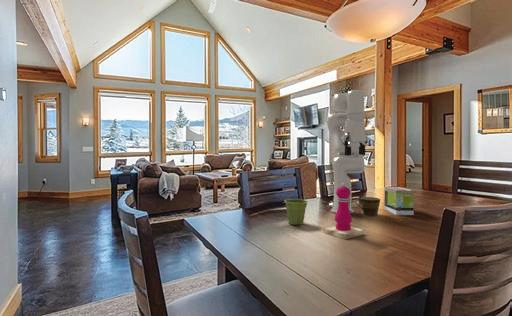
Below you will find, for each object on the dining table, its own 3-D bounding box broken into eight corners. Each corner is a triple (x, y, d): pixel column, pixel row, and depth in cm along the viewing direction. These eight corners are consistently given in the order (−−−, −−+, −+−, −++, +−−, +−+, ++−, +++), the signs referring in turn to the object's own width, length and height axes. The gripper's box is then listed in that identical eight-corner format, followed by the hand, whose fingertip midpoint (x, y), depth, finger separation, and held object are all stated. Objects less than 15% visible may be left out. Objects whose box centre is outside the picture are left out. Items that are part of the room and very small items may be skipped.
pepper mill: (340, 231, 119) (340, 184, 118) (331, 227, 126) (331, 182, 125) (355, 230, 121) (355, 183, 120) (345, 226, 128) (345, 181, 127)
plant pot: (307, 227, 134) (307, 203, 134) (283, 225, 137) (282, 202, 136) (308, 221, 146) (308, 199, 146) (285, 220, 148) (285, 198, 148)
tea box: (414, 217, 153) (414, 190, 153) (395, 217, 154) (395, 190, 153) (400, 211, 168) (401, 186, 168) (383, 211, 169) (383, 186, 168)
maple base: (323, 232, 125) (323, 227, 125) (341, 228, 131) (341, 224, 131) (345, 239, 115) (345, 234, 115) (363, 234, 121) (363, 229, 121)
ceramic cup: (376, 214, 159) (376, 197, 159) (382, 218, 150) (382, 200, 149) (353, 214, 161) (353, 196, 161) (357, 218, 151) (357, 199, 151)
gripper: (360, 119, 138) (360, 154, 139) (335, 117, 129) (335, 155, 130) (374, 118, 131) (373, 154, 132) (349, 116, 122) (348, 156, 123)
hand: (355, 155), depth 131 cm, fingers open, 9 cm apart
